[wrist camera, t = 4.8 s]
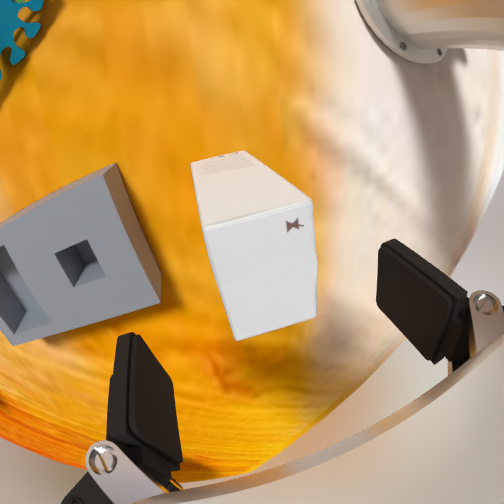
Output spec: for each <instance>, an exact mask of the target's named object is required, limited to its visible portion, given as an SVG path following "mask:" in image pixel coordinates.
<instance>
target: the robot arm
mask: <svg viewBox="0 0 504 504" xmlns="http://www.w3.org/2000/svg"><path fill="white" fill-rule="evenodd" d="M356 2H357V4H358V7H359V9H360V11H361V13H362V15H363V17H364V18H365V20H366V22H367V24H368V25H369V26H370V28H371V29H372V30H373V32H374V33H375V34H376V35H377V37H378V38H379V39H380V40H381V41H382V42H383V43H384V44H385V45H386V46H387V47H388V48H390V49H391V50H392V51H393V52H394V53H396V54H397V55H399V56H400V57H402V58H404V59H406V60H408V61H410V62H414V63H419V64H429V63H435V62H437V61H439V60H441V59H442V58H443V57H444V56H445V54H446V52H447V50H448V48H470V49H489V50H500V51H504V0H356ZM376 303H377V305H378V307H379V309H380V310H381V311H382V312H383V313H384V314H385V315H386V316H387V317H388V318H389V319H390V320H391V321H392V322H393V323H394V325H395V326H396V327H397V328H398V329H399V330H400V331H401V332H402V333H403V334H404V335H405V336H406V338H407V339H409V341H410V342H411V343H412V344H413V345H414V346H415V348H416V349H417V350H418V351H419V352H420V353H421V354H422V355H423V357H425V359H426V360H431V361H432V363H433V364H434V365H435V364H436V363H438V362H439V361H440V360H442V359H443V358H444V356H445V357H446V359H448V376H447V377H446V378H445V379H444V380H443V381H441V382H440V383H438V384H437V385H435V386H434V387H433V388H432V389H430V390H429V391H427V392H426V393H424V394H423V395H421V396H420V397H419V398H417V399H415V400H414V401H412V402H411V403H409V404H408V405H406V406H405V407H403V408H401V409H400V410H398V411H396V412H395V413H393V414H391V415H390V416H388V417H386V418H385V419H383V420H381V421H380V422H378V423H376V424H374V425H373V426H370V427H369V428H367V429H365V430H363V431H361V432H359V433H357V434H355V435H353V436H351V437H349V438H347V439H345V440H343V441H341V442H339V443H336V444H334V445H332V446H330V447H327V448H325V449H323V450H320V451H318V452H316V453H313V454H311V455H308V456H306V457H303V458H301V459H298V460H295V461H292V462H290V463H287V464H284V465H281V466H278V467H275V468H272V469H269V470H265V471H263V472H259V473H255V474H252V475H249V476H245V477H241V478H237V479H233V480H229V481H225V482H221V483H216V484H211V485H207V486H202V487H197V488H191V489H185V490H183V489H182V488H181V487H179V486H178V485H177V484H176V483H174V482H173V481H172V480H171V479H172V477H171V471H177V470H180V464H179V463H182V462H183V457H182V450H181V444H180V437H179V430H178V423H177V415H176V407H175V398H174V388H173V383H172V380H171V378H170V376H169V375H168V374H167V372H166V371H165V370H164V368H163V367H162V366H161V364H160V363H159V362H158V360H157V359H156V357H155V356H154V355H153V353H152V352H151V350H150V349H149V347H148V346H147V344H146V343H145V341H144V340H143V338H142V337H141V336H140V335H135V333H133V332H130V333H127V334H124V335H120V336H118V339H117V345H116V353H115V361H114V370H113V375H112V376H111V378H110V386H109V397H108V412H107V434H106V440H102V441H99V442H96V443H95V444H93V445H92V446H91V447H90V448H89V450H88V452H87V454H86V459H85V463H86V468H87V470H88V472H87V473H86V474H85V475H84V476H83V478H82V479H81V480H80V481H79V482H78V483H77V484H76V485H75V487H74V488H73V489H72V490H71V491H70V492H69V493H68V494H67V495H66V496H65V498H64V499H63V501H62V503H61V504H504V306H502V305H501V303H500V301H499V299H498V298H497V297H496V296H495V295H494V294H492V293H490V292H488V291H483V290H482V291H476V292H474V293H473V294H472V295H471V296H470V298H468V297H467V291H466V290H465V289H463V288H462V287H461V286H459V285H458V284H457V283H456V282H454V281H453V280H452V279H451V278H449V277H448V276H447V275H445V274H444V273H443V272H441V271H440V270H439V269H437V268H436V267H435V266H433V265H432V264H431V263H429V262H428V261H427V260H425V259H424V258H422V257H421V256H420V255H418V254H417V253H415V252H414V251H413V250H411V249H410V248H408V247H407V246H405V245H404V244H402V243H401V242H400V241H398V240H396V239H392V240H389V241H387V242H384V243H382V244H381V248H380V249H379V251H378V276H377V294H376Z"/></svg>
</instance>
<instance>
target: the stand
mask: <svg viewBox="0 0 504 504" xmlns="http://www.w3.org/2000/svg"><path fill="white" fill-rule="evenodd" d="M161 281H162V273H161V271H160V269H159V266H158V264H157V262H156V260H155V258H154V256H153V253H152V251H151V249H150V247H149V244H148V242H147V240H146V237H145V235H144V233H143V230H142V228H141V226H140V223H139V221H138V218H137V216H136V213H135V211H134V208H133V206H132V203H131V201H130V198H129V196H128V193H127V190H126V188H125V185H124V182H123V180H122V177H121V174H120V171H119V169H118V166H117V163H114V164H112V165H110V166H107V167H105V168H103V169H100V170H98V171H96V172H94V173H91V174H89V175H87V176H85V177H83V178H81V179H79V180H76V181H74V182H72V183H70V184H68V185H66V186H64V187H62V188H60V189H58V190H56V191H55V192H53V193H51V194H49V195H47V196H45V197H43V198H41V199H40V200H38V201H36V202H34V203H33V204H31V205H29V206H27V207H26V208H24V209H22V210H21V211H19V212H17V213H16V214H14V215H12V216H11V217H9V218H7V219H6V220H4V221H3V222H1V223H0V330H1V332H2V333H3V334H4V335H5V337H6V338H7V339H8V340H9V342H10V343H11V344H12V345H13V346H15V345H18V344H22V343H26V342H29V341H33V340H37V339H40V338H44V337H47V336H51V335H54V334H58V333H61V332H65V331H68V330H72V329H75V328H79V327H82V326H86V325H89V324H92V323H96V322H99V321H103V320H106V319H109V318H113V317H116V316H119V315H123V314H126V313H129V312H132V311H136V310H139V309H142V308H145V307H149V306H152V305H155V304H158V303H161Z"/></svg>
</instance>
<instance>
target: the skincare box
mask: <svg viewBox="0 0 504 504" xmlns="http://www.w3.org/2000/svg"><path fill="white" fill-rule="evenodd" d="M190 165H191V171H192V177H193V183H194V189H195V194H196V199H197V205H198V211H199V216H200V221H201V226H202V231H203V236H204V240H205V244H206V249H207V252H208V256H209V260H210V264H211V267H212V271H213V274H214V277H215V280H216V283H217V286H218V289H219V292H220V295H221V298H222V302H223V305H224V308H225V311H226V314H227V317H228V320H229V323H230V326H231V329H232V332H233V335H234V338H235V340H236V341H239V340H243V339H246V338H250V337H253V336H257V335H260V334H263V333H267V332H270V331H273V330H276V329H280V328H283V327H286V326H289V325H293V324H296V323H299V322H302V321H306V320H309V319H312V318H315V317H316V316H317V277H318V260H317V256H316V244H315V230H314V215H313V203H312V200H311V199H310V198H309V197H308V196H307V195H305V194H304V193H303V192H301V191H300V190H299V189H297V188H296V187H295V186H293V185H292V184H291V183H289V182H288V181H287V180H285V179H284V178H283V177H281V176H280V175H278V174H277V173H276V172H274V171H273V170H272V169H270V168H269V167H267V166H266V165H265V164H263V163H262V162H260V161H259V160H257V159H256V158H255V157H253V156H252V155H250V154H249V153H247V152H246V151H239V152H234V153H229V154H224V155H220V156H216V157H212V158H208V159H204V160H200V161H196V162H192V163H191V164H190Z"/></svg>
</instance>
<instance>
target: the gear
mask: <svg viewBox="0 0 504 504" xmlns="http://www.w3.org/2000/svg"><path fill="white" fill-rule="evenodd" d="M23 1H24V0H0V54H1V51H2V50H3V49H4V48H6V47H11V48H12V52H11V55H10V62H11V64H13V65H14V64H16V63H18V62H19V61H20V60H21V59H22V58H23V57H25V52H24V50H23V49H21V48H19V47H18V46H17V45H16V44H15V43H14V39H13V33H14V31H15V30H16V29H17V28H19V27H23V28H24V30H25V35H26V36H27V37H28V38H33V37H34V36H35V35H36V34H37V32H38V30H39V29H40V27H41V25H40V24H39V23H37V22H33V23H26V22H23V21H22V20H20V19H19V18H18V16H17V14H18V11H19V10H20V9H21V8H23V7H28V8H29V9H30V10H32V11H38V10H40V9H41V8H42V6H43V2H44V0H30V1H28V2H24V3H21V2H23ZM1 78H2V72H1V70H0V80H1Z"/></svg>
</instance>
